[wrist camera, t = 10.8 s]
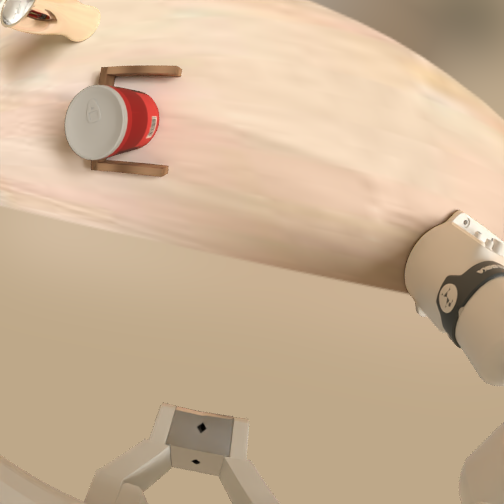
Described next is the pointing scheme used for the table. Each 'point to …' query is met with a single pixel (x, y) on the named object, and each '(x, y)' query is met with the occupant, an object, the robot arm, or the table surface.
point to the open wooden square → (108, 79)
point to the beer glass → (51, 18)
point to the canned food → (109, 121)
